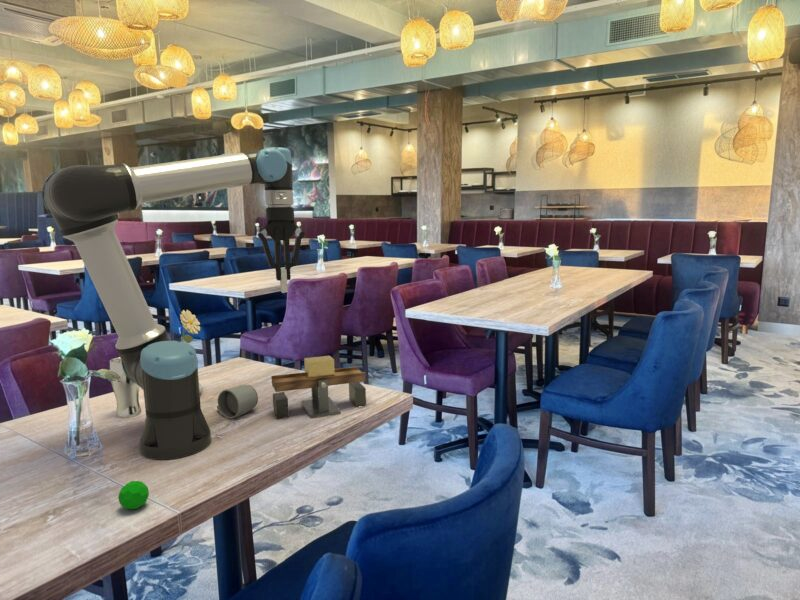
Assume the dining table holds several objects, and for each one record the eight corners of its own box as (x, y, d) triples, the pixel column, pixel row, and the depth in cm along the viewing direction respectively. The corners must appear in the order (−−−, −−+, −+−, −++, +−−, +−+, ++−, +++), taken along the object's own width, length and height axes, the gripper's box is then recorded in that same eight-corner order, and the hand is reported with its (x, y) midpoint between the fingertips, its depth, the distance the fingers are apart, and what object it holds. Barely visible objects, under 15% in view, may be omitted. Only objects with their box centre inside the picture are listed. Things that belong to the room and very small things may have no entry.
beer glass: (129, 407, 153) (123, 355, 151) (149, 410, 151) (144, 356, 149) (108, 416, 147) (102, 361, 144) (129, 419, 145) (123, 363, 142)
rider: (308, 381, 146) (307, 362, 145) (304, 376, 150) (304, 358, 149) (334, 378, 148) (334, 359, 147) (330, 373, 152) (329, 355, 152)
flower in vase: (179, 405, 155) (171, 316, 151) (152, 398, 160) (144, 313, 156) (215, 391, 166) (209, 308, 162) (189, 386, 172) (183, 306, 167)
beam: (275, 392, 142) (275, 383, 142) (271, 384, 148) (271, 375, 148) (365, 381, 151) (365, 372, 150) (358, 374, 157) (358, 366, 156)
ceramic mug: (261, 410, 150) (259, 383, 149) (239, 421, 143) (237, 392, 141) (231, 405, 155) (229, 378, 154) (209, 415, 148) (206, 387, 146)
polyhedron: (146, 497, 105) (144, 473, 105) (152, 508, 102) (150, 483, 101) (117, 506, 103) (114, 481, 102) (122, 517, 99) (120, 492, 98)
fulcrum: (279, 423, 141) (277, 388, 139) (271, 407, 152) (269, 375, 150) (369, 409, 149) (368, 376, 148) (356, 395, 160) (355, 364, 159)
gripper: (256, 206, 146) (262, 295, 150) (306, 206, 151) (309, 292, 155) (253, 206, 153) (258, 291, 157) (300, 206, 158) (304, 288, 162)
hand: (284, 291), depth 156 cm, fingers closed
